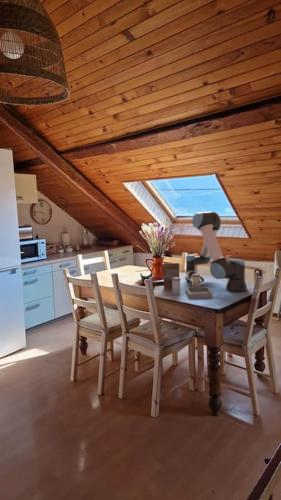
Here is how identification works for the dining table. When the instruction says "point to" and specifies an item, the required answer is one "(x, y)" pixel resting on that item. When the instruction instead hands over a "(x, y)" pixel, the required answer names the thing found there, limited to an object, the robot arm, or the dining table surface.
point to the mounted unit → (170, 274)
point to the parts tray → (199, 292)
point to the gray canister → (175, 286)
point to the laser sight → (146, 278)
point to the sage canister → (196, 280)
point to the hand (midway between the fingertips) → (197, 282)
